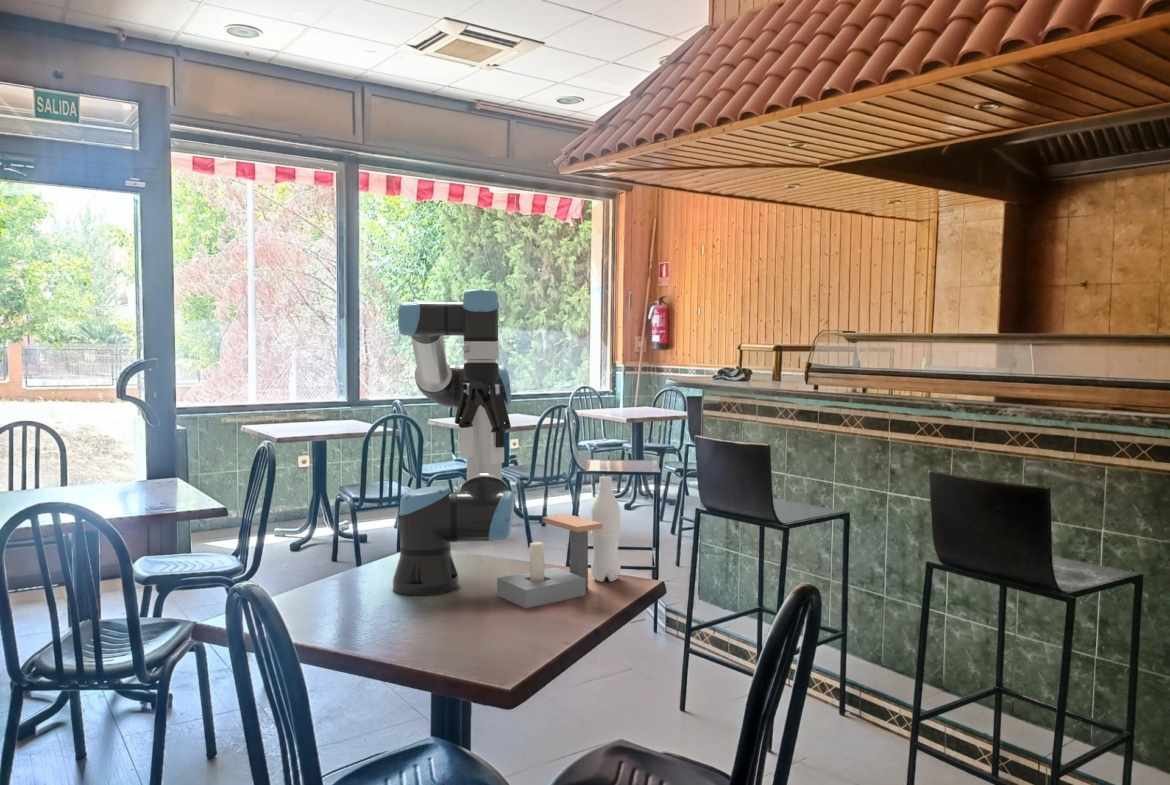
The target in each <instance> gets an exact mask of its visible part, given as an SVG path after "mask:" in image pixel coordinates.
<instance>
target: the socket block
mask: <svg viewBox="0 0 1170 785" xmlns="http://www.w3.org/2000/svg"><path fill="white" fill-rule="evenodd" d="M496 583H497V584H496V585H497V586H496V588H497V591H496V592H497V593H496V594H497V596H498V597H500V598H502V599H504V600H506V601H508V602H511V603H512V604H515V605H517V606H519V607H522V608H523V609H531V608H535V607H539V606H544V605H548V604H553V603H557V602H558V603H559V602H562V601H566V600H567V601H568V600H571V598H572V599H576V598H575V597H577V598H580V597H579V596H581V597H585V596H584V595H586V592H587V591H586V589H587V588H586V578H584V577H581V576H578V575H576V574H573V573H570V571H566V570H564V569H562V568H559V567H556V566H555V567H550V568H544V581H541V582H536V583H534V582H532V581H530V571H528V572H522V573H518V574H512V575H506V576H500V577H496Z"/></svg>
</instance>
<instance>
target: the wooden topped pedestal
mask: <svg viewBox="0 0 1170 785" xmlns="http://www.w3.org/2000/svg"><path fill="white" fill-rule="evenodd" d="M542 523H543V524H548V525H551V526H553V527H558V528H561V529H565V530H567V531H568V530H569V572H570V573H573V574H576V575H578V576H581V577H584V578H586V589H589V540H588V539H589V537H588V535H589V531H591V530H595V529H601V528H602V523H600V522H596V521H592V520H591V519H588V518H583V517H580V516H578V515H573V514H568V513H562V514H556V515H548V516H543V517H542Z"/></svg>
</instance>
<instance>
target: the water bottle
mask: <svg viewBox="0 0 1170 785" xmlns="http://www.w3.org/2000/svg"><path fill="white" fill-rule="evenodd" d="M612 479H613V478H612V476H607V475H604V476H602V475H601V476H599V479H598V480H599V483H598V486H597V487H598V493H597V495H596V497H595V499H594V501H593V503H592V506H591V507H590V508H591V509H590V513H591V514H590V515H591V518H590V520H592V521H596V522H600V523H602V528H601V529H595V530H590V533H591V538H592V544H593V552H592V561H591V565H590V569H591V570H590V571H591V575H592V577H593V579H595V580H596V581H598V582H599V581H600V582H601V583H602V582H604V581H605V580H606V578H607V579H608V581H609V582H610V583H612V582H615V581H616V580H617V579H618V578H619V576H614V575H620V574H621V563H620V559H619V558H620V557H619V540H620V539H619V538H620V535H621V508H620V504H619V503H618V501H617V500H618V499H616V497H615V494H614V492H613V487H614V485H613V481H612ZM614 580H615V581H614Z"/></svg>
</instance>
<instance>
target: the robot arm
mask: <svg viewBox="0 0 1170 785" xmlns="http://www.w3.org/2000/svg"><path fill="white" fill-rule="evenodd" d="M462 300H463V301H462V302H461V301H460V302H459V301H458V302H456V301H455V302H454V301H452V302H449V301H448V302H447V301H446V302H442V301H441V302H439V301H437V302H436V301H435V302H434V301H428V302H427V301H417V300H415V301H411V302H409V301H408V302H402V303H400V304H399V306H398V309H397V310H398V312H397V321H398V322H397V324H398V331H399V334H400V335H402V336H408V337H410V339H411V344H412V350H413V354H414V360H415V366H416V368H415V370H414V379H415V384H416V386H417V388H418V389H419V391H420V392H421V393H422V395H424V397H426V398H427V399H428V400H430V401H431V402H432V403H435V404H437V405H439V406H442V407H446V408H457V409H456V413H455V414H456V415H455V418H454V424H456V425H458V427H459V428H460V458H466V480H465V481H464V482H463V483H462V484H461V486H460V489H459V492H458V491H457V492H455V491H454V492H452V489H451V488H450V486H449V485H434V486H426V487H420V488H416V489H413V490H409V491H407V492H405V493H403V494H402V496H401V498H400V501H399V505H400V506H399V512H398V516H399V527H400V528H399V532H400V533H399V534H400V535H399V537H400V538H399V541H400V542H399V546H400V547H399V549H400V552H399V553H400V554H399V559H398V562H397V566H396V569H395V572H394V575H393V578H392V579H393V580H392V590H393V591H394V592H396V593H398V594H401V595H406V596H434V595H441V594H445V593H448V592H451V591H454V590H455V589H457V588H458V587H459V574H458V571H457V568H456V564H455V562H454V559H453V556H452V552H451V550H452V549H451V545H452V544H451V543H465V542H467V543H469V542H471V543H472V542H489V543H493V542H496V541H499V542H500V541H505V540H507V539H509V538H510V536H511V534H512V529H513V528H512V527H513V520H514V519H513V518H514V509H515V492H514V491H512V490H510V489H509V487H508V484H507V483H506V481H505V480H503V475H502V474H503V473H502V472H503V470H502V464H503V463H505V432H506V431H507V430H510V429H511V426H512V425H511V421H510V418H509V413H508V410H507V408H509V407H510V406H511V404H512V392H511V391H512V390H511V389H512V388H511V381H510V376H509V372H508V369H507V367H506V366H504V365H503V364H498V362H497V361H498V360H499V359H500V356H499V355H500V354H499V353H500V352H499V350H500V349H499V348H500V347H499V308H500V307H499V306H500V303H499V295H498V292H497V291H496V290H493V289H484V288H483V289H479V288H478V289H477V288H476V289H468V290H465V291H464V292H463V298H462ZM444 336H448V337H449V336H459V337H460V336H463V346H462V351H463V360H464V361H466V362H464V364H448V362H447V354H446V346H445V337H444Z"/></svg>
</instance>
